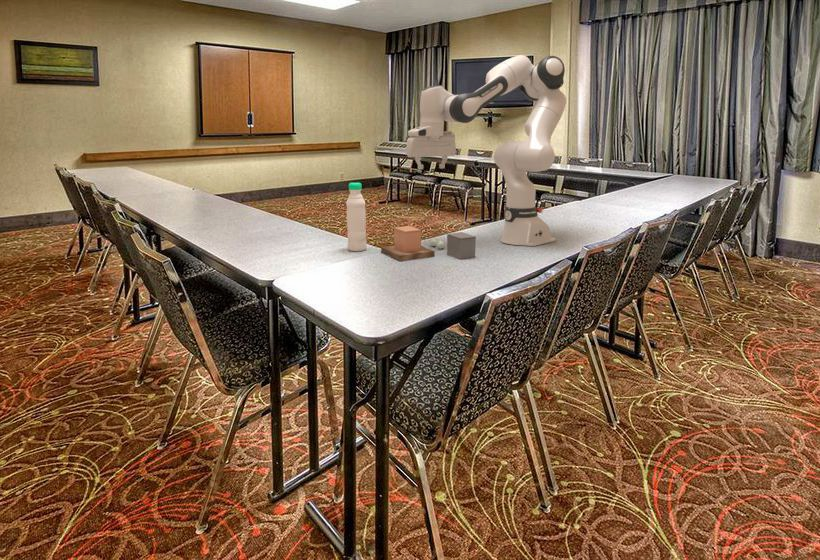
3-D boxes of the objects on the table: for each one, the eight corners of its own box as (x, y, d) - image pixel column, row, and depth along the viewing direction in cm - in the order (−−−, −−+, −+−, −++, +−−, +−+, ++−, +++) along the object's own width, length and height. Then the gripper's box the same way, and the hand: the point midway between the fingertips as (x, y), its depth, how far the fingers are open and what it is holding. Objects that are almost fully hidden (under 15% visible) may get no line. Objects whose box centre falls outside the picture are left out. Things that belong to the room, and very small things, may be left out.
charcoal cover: (461, 252, 192) (462, 232, 190) (475, 257, 184) (475, 236, 182) (447, 254, 189) (447, 233, 187) (460, 259, 182) (460, 238, 179)
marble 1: (431, 248, 200) (434, 247, 202) (437, 244, 198) (440, 243, 201) (427, 242, 200) (429, 241, 203) (433, 237, 199) (435, 237, 201)
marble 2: (435, 249, 197) (440, 246, 199) (441, 250, 195) (446, 248, 197) (434, 242, 196) (439, 239, 198) (440, 243, 194) (445, 240, 196)
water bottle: (363, 252, 192) (361, 184, 185) (345, 251, 194) (342, 183, 187) (368, 248, 199) (367, 182, 192) (351, 247, 200) (348, 181, 193)
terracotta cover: (409, 245, 193) (409, 225, 191) (420, 250, 186) (420, 229, 184) (394, 247, 190) (394, 227, 188) (405, 252, 183) (405, 231, 181)
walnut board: (414, 248, 198) (414, 243, 198) (434, 256, 186) (434, 251, 185) (381, 252, 192) (381, 247, 191) (399, 261, 179) (399, 255, 179)
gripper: (450, 131, 202) (449, 167, 206) (404, 131, 192) (404, 169, 196) (459, 131, 196) (458, 168, 200) (412, 131, 187) (412, 170, 191)
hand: (431, 168), depth 198 cm, fingers open, 8 cm apart
